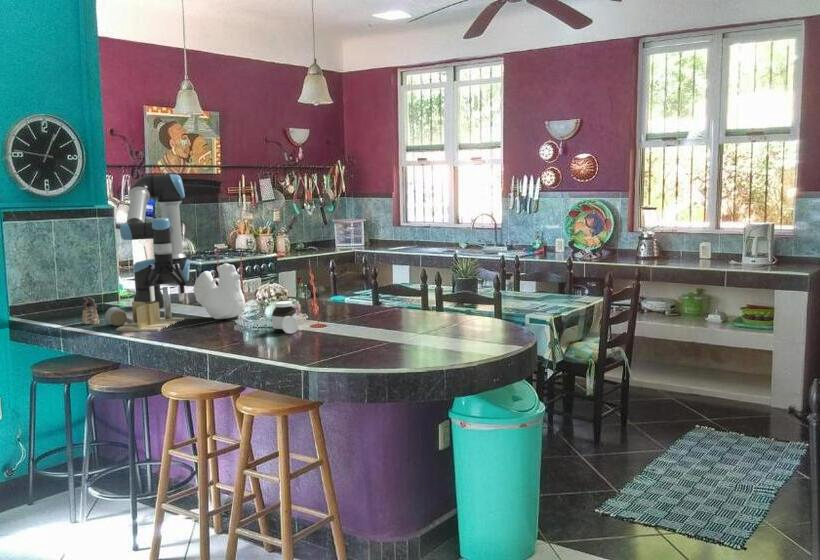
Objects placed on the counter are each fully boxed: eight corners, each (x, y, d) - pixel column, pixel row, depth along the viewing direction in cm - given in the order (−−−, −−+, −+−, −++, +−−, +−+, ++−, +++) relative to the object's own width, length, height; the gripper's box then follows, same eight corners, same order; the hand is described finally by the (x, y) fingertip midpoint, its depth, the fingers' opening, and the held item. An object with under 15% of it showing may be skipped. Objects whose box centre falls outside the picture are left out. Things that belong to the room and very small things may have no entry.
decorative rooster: (254, 316, 348) (250, 261, 344) (227, 323, 335) (223, 266, 332) (216, 312, 362) (212, 259, 359) (189, 318, 349) (185, 263, 346)
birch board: (144, 319, 350) (144, 317, 349) (184, 319, 346) (184, 317, 346) (116, 330, 326) (116, 328, 326) (158, 330, 323) (158, 328, 323)
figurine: (102, 322, 346) (100, 296, 344) (87, 325, 341) (85, 298, 339) (94, 321, 350) (92, 295, 349) (79, 324, 345) (76, 297, 343)
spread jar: (285, 327, 320) (283, 300, 319) (307, 329, 315) (306, 301, 313) (267, 333, 310) (265, 305, 308) (290, 335, 305) (288, 306, 303)
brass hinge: (134, 321, 341) (133, 301, 340) (164, 321, 339) (162, 301, 337) (116, 328, 326) (114, 307, 325) (146, 328, 324) (145, 307, 323)
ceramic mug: (111, 327, 334) (110, 310, 333) (105, 325, 340) (104, 307, 339) (136, 324, 340) (134, 307, 339) (130, 322, 347) (129, 305, 346)
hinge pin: (166, 317, 347) (164, 286, 345) (173, 317, 347) (170, 286, 345) (163, 319, 344) (161, 287, 342) (170, 319, 344) (167, 287, 342)
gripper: (132, 254, 340) (136, 302, 343) (185, 253, 336) (189, 301, 338) (141, 252, 347) (145, 299, 350) (193, 251, 343) (197, 299, 346)
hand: (167, 300), depth 344 cm, fingers open, 13 cm apart
